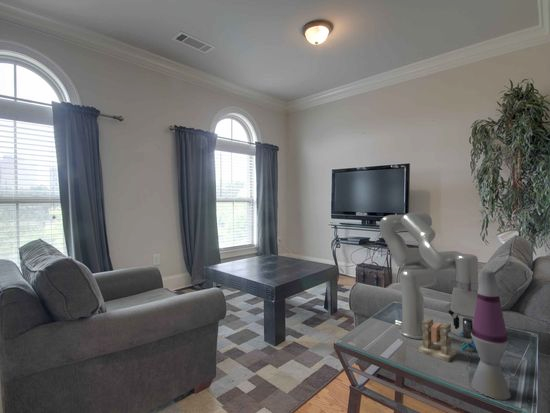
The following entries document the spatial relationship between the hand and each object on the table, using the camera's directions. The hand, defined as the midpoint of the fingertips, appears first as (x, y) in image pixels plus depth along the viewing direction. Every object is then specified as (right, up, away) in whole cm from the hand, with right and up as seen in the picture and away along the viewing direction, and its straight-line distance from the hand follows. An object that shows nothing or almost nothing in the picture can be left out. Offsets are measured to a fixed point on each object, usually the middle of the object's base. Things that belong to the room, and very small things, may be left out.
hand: (467, 330), depth 114 cm
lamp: (-4, -13, -17) cm, 22 cm away
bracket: (-7, -13, +9) cm, 17 cm away
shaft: (-5, -5, +6) cm, 9 cm away
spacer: (-7, -8, +9) cm, 14 cm away
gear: (+8, -13, +10) cm, 18 cm away
